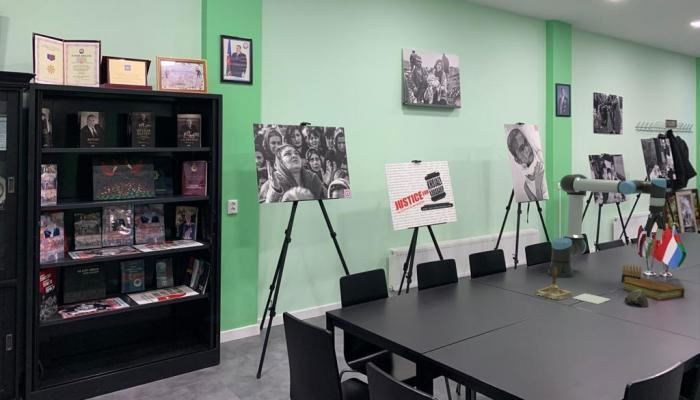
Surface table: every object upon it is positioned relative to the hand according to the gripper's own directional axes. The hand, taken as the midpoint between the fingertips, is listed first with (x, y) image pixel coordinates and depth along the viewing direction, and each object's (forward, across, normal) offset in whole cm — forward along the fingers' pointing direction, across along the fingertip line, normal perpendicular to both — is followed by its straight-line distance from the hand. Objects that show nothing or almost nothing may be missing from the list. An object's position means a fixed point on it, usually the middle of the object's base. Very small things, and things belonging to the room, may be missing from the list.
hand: (653, 241), depth 294 cm
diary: (+28, -12, -7) cm, 31 cm away
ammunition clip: (+28, 0, +10) cm, 30 cm away
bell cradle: (+27, -64, +22) cm, 73 cm away
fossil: (+27, -42, -11) cm, 51 cm away
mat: (+27, -53, +7) cm, 60 cm away
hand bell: (+28, -64, +22) cm, 73 cm away
